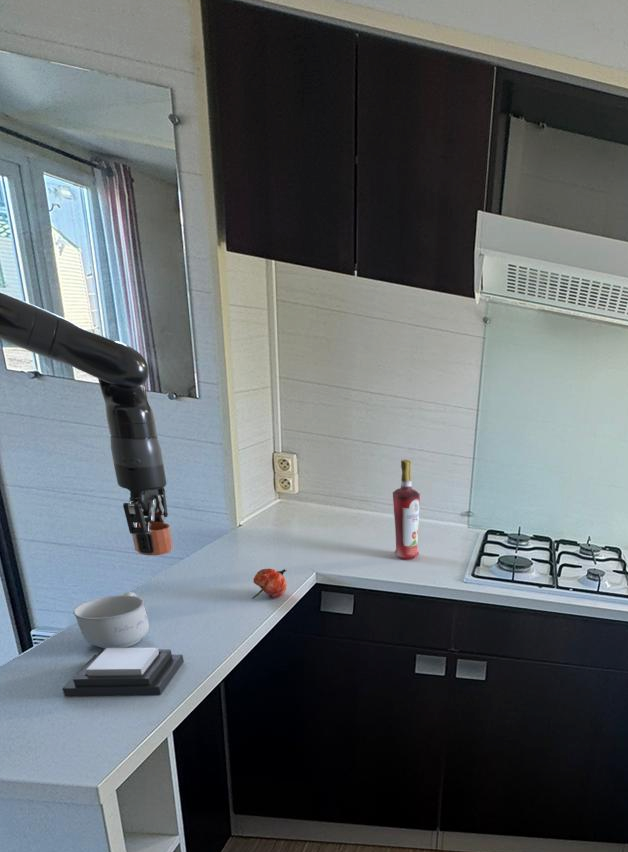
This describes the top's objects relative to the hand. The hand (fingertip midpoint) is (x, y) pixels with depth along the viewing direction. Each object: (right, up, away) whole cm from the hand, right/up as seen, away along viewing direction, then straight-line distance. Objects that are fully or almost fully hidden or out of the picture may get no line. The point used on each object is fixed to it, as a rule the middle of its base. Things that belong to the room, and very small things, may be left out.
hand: (153, 546), depth 123 cm
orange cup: (0, -1, 0) cm, 1 cm away
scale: (+4, -25, -11) cm, 28 cm away
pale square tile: (+4, -23, -12) cm, 26 cm away
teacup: (-6, -18, 0) cm, 19 cm away
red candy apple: (+9, -8, +26) cm, 29 cm away
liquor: (+31, +6, +61) cm, 69 cm away
